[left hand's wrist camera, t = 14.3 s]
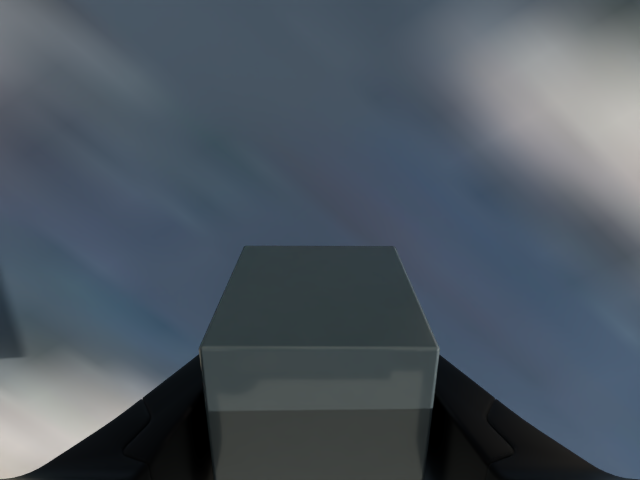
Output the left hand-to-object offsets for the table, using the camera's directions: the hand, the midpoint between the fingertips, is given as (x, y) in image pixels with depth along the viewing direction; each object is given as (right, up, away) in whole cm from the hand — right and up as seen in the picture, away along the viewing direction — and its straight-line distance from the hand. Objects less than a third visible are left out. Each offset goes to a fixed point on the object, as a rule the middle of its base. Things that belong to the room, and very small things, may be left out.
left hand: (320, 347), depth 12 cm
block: (0, 0, +1) cm, 1 cm away
